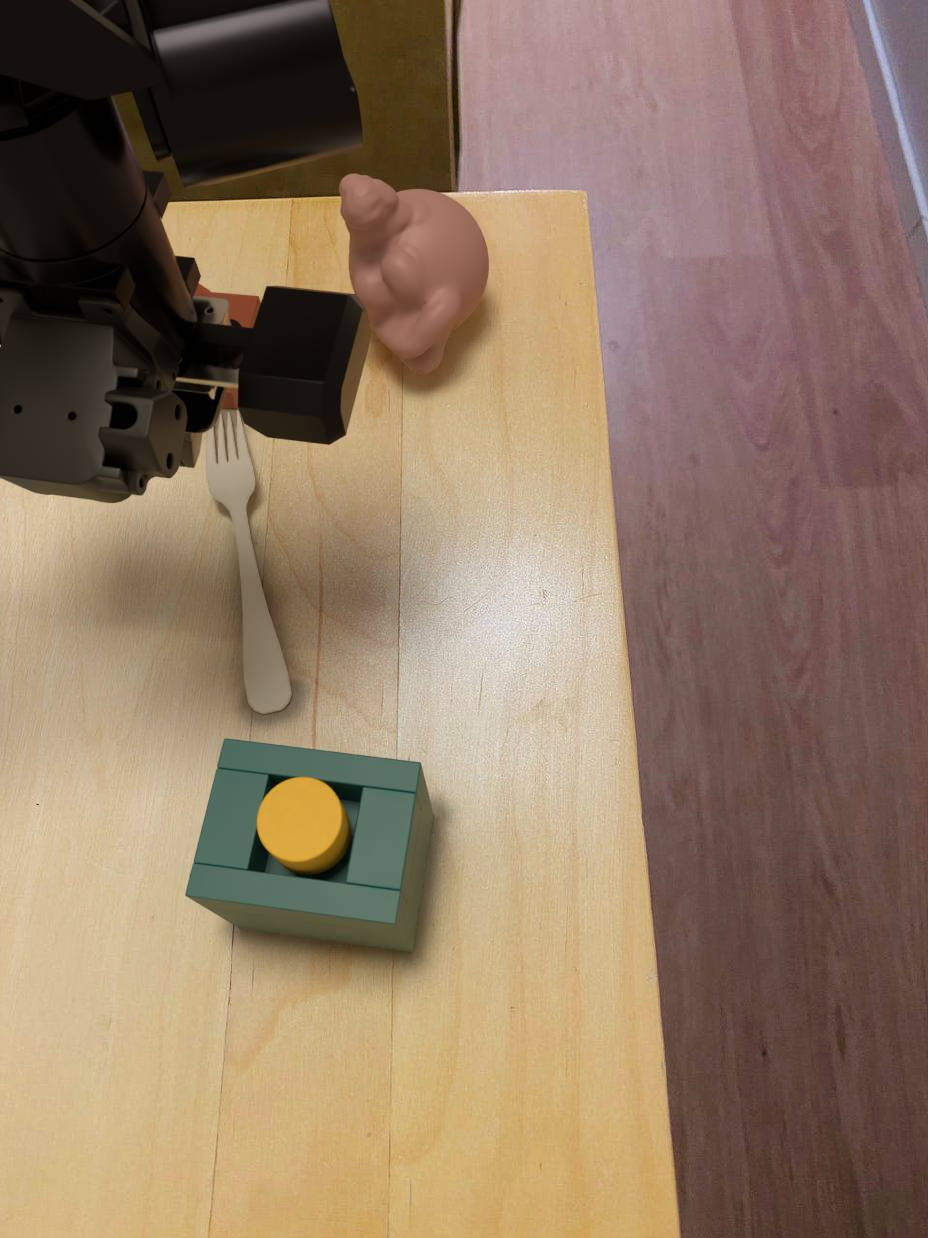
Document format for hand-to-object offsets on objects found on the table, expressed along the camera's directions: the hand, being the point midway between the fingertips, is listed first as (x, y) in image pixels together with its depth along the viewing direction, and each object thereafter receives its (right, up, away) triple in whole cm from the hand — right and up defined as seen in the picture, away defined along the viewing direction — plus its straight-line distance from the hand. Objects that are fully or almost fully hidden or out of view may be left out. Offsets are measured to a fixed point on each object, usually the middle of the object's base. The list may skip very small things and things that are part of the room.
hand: (189, 459), depth 48 cm
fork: (0, -4, +11) cm, 12 cm away
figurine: (+11, +12, +18) cm, 24 cm away
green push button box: (+7, -21, +3) cm, 22 cm away
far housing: (-6, +10, +18) cm, 21 cm away
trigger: (+6, -17, -4) cm, 19 cm away
